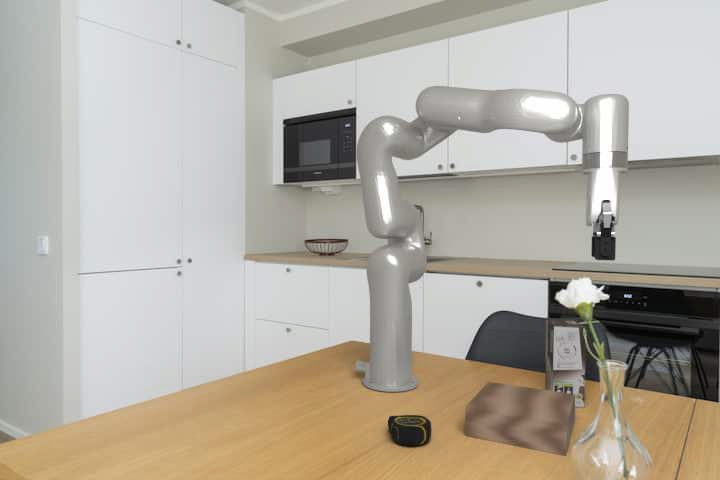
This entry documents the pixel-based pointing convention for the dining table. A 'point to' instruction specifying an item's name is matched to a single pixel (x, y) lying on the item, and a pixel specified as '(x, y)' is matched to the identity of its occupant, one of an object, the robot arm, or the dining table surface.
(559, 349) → the coffee box
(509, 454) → the dining table surface
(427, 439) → the tape measure
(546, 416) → the block
